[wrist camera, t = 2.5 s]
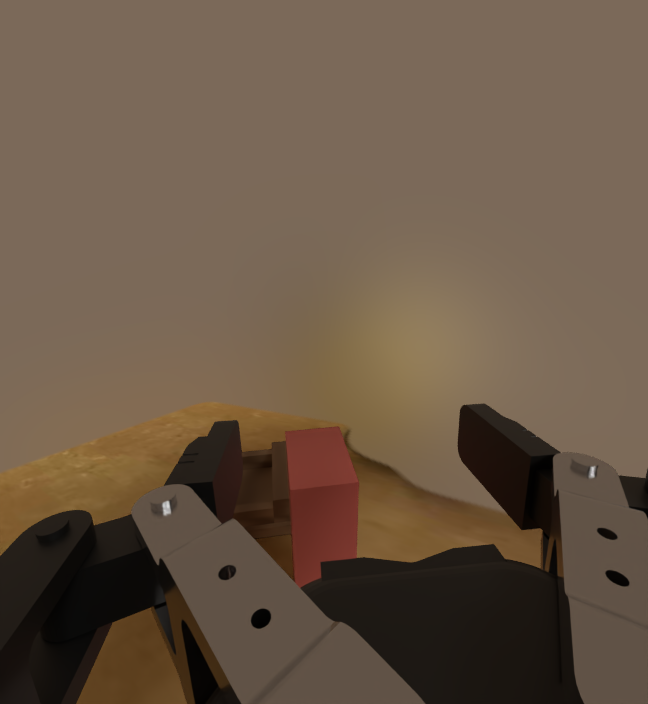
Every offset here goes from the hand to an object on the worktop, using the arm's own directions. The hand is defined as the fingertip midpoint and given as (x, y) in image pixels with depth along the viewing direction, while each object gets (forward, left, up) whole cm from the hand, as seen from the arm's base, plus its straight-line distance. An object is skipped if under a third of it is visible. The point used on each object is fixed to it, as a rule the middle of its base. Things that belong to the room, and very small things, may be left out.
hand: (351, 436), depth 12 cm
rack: (+6, -22, -23) cm, 33 cm away
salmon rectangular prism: (0, -8, -23) cm, 24 cm away
